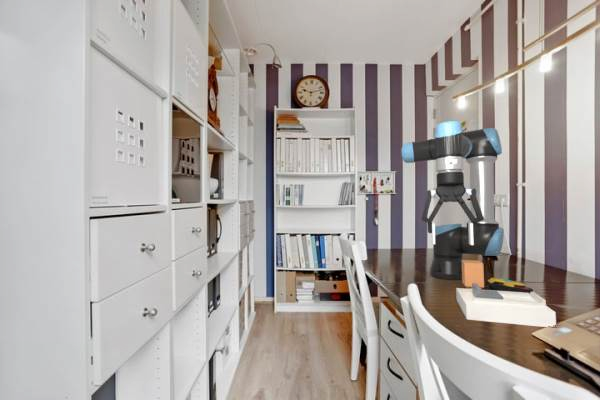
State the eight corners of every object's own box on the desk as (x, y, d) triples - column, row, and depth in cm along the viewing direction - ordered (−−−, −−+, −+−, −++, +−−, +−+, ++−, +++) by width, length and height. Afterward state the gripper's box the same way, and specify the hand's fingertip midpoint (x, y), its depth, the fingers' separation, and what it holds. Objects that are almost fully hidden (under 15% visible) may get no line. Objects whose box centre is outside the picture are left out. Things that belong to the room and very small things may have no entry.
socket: (456, 300, 98) (455, 283, 99) (528, 305, 92) (527, 287, 92) (466, 319, 81) (466, 298, 82) (556, 328, 75) (555, 305, 75)
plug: (462, 293, 106) (461, 259, 106) (480, 294, 104) (479, 260, 104) (465, 298, 100) (464, 262, 101) (484, 299, 98) (483, 263, 99)
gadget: (535, 303, 97) (537, 287, 97) (491, 295, 100) (493, 279, 100) (525, 297, 104) (527, 282, 104) (483, 290, 106) (485, 275, 106)
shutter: (472, 293, 92) (472, 282, 92) (496, 294, 90) (496, 284, 90) (477, 299, 86) (476, 288, 86) (503, 301, 83) (502, 289, 84)
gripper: (411, 173, 92) (413, 244, 91) (494, 168, 84) (497, 246, 84) (411, 175, 99) (413, 242, 98) (488, 171, 92) (490, 243, 91)
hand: (452, 244), depth 91 cm, fingers open, 10 cm apart
